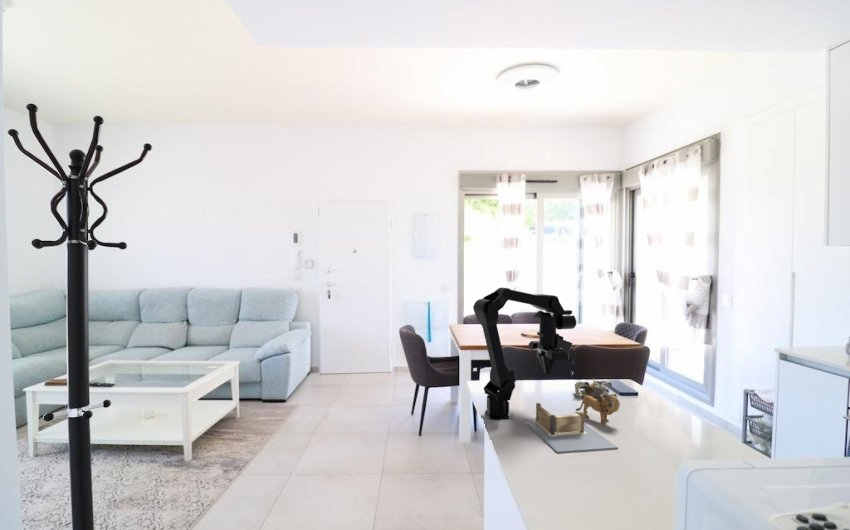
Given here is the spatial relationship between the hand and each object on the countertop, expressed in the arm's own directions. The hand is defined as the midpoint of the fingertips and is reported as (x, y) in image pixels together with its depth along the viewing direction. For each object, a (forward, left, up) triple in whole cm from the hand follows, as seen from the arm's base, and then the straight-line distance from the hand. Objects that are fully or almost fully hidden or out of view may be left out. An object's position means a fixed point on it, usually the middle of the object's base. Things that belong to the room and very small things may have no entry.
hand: (547, 374), depth 134 cm
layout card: (-4, -21, -12) cm, 25 cm away
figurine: (+23, +9, -12) cm, 28 cm away
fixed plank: (-9, -16, -12) cm, 22 cm away
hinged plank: (-3, -21, -12) cm, 24 cm away
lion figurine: (+12, -11, -12) cm, 21 cm away
